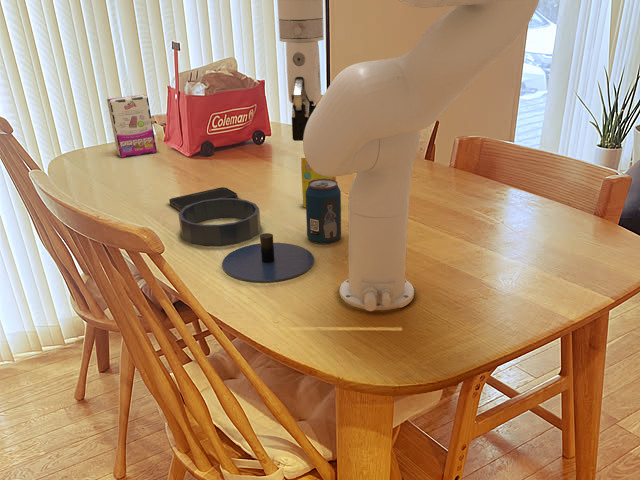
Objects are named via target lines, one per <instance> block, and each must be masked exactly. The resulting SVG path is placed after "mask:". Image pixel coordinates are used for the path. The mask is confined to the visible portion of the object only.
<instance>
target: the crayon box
mask: <svg viewBox="0 0 640 480" xmlns="http://www.w3.org/2000/svg"><path fill="white" fill-rule="evenodd" d="M300 159H301V160H300V161H301V163H300V164H301V166H300V167H301V169H300V170H301V188H302V207H303V208H304V209H306V190H307V188H308V183H309V182H310V181H312V180H315V179H332V180H335V181H337V177H325V176H322V175H320V174H318V173H316V172H315V171H314V170H313V169H312V168H311V167H310V166H309V164H308V163H307V161H306V158H305V157H301V158H300Z"/></svg>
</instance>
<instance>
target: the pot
mask: <svg viewBox="0 0 640 480" xmlns="http://www.w3.org/2000/svg"><path fill="white" fill-rule="evenodd" d="M260 212H261V211H260V208H259V206H258V205H257V204H256V203H254V202H252V201H250V200H247V199H242V198H238V199H235V198H218V199H211V200H204V201H200V202H196V203H193V204H190V205H188V206H187V207H185V208H183V209H182V210H181V211H179V213H178V214H177V215H178V221H179V228H180V235H181V237H182V240H184V241H186V242H188V243H189V244H192V245H197V246H202V247H225V246H232V245H239V244H241V243H245V242H247V241H249V240H250V241H251V240H253V238H255V237H256V236H257V235H259V234H260V231H261V229H262V226H261V213H260ZM219 219H237V221H234V222H227V223H222V224H202V223H203V222H206V221H210V220H219Z"/></svg>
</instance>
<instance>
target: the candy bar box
mask: <svg viewBox="0 0 640 480" xmlns="http://www.w3.org/2000/svg"><path fill="white" fill-rule="evenodd" d="M106 103H107V107H108V112H109V117H110V123H111V128H112V133H113V138H114V144H115V148H116V153H117V155H118V156H119V157H120V158H122V159H123V158H130V157H136V156H143V155H148V154H154V153H157V152H158V150H157V145H156V144H157V143H156V138H155V132H154V128H153V127H154V126H153V120H152V113H151V108H150V101H149V97H148V95H145V94H137V95H128V96H127V95H126V96H121V97H114V98H113V97H112V98H107V99H106Z"/></svg>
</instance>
